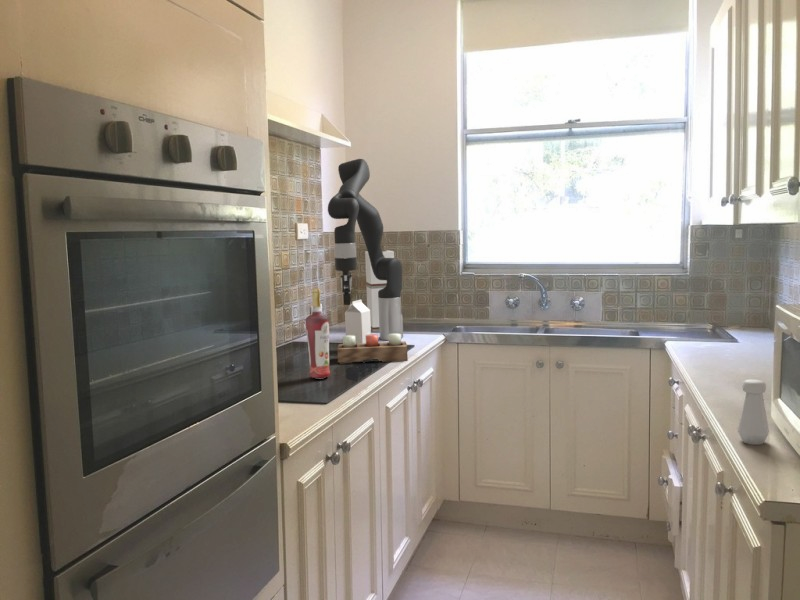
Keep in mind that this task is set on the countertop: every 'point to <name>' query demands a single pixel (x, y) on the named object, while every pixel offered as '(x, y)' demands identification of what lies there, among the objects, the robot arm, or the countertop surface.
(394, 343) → the cream white sphere
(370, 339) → the red ball
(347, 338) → the pale green sphere
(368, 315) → the milk carton
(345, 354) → the wooden ball rack
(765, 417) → the salt shaker
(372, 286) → the white notched tower
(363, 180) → the robot arm
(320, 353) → the liquor
